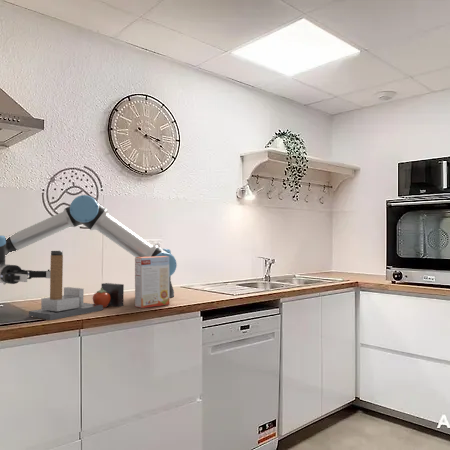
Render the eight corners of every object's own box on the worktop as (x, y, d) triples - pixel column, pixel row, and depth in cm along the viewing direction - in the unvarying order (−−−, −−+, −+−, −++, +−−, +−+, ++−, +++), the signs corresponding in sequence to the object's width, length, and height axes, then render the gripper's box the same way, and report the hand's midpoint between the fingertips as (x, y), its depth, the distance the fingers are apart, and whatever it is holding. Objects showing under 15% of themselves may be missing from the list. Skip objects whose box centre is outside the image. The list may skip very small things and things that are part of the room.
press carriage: (67, 304, 172) (68, 250, 172) (83, 306, 167) (84, 250, 168) (41, 309, 161) (42, 250, 162) (56, 311, 157) (57, 251, 157)
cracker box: (162, 303, 192) (162, 255, 192) (169, 305, 187) (170, 256, 188) (133, 306, 183) (134, 256, 183) (141, 308, 178) (141, 257, 179)
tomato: (111, 305, 185) (111, 286, 185) (109, 308, 178) (110, 288, 178) (93, 305, 184) (93, 286, 184) (90, 308, 177) (91, 289, 177)
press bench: (104, 303, 190) (105, 282, 191) (125, 305, 184) (125, 284, 184) (28, 316, 159) (29, 291, 159) (50, 320, 152) (50, 294, 153)
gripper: (36, 280, 187) (69, 283, 176) (-22, 286, 166) (11, 290, 155) (36, 263, 187) (69, 265, 176) (-22, 266, 166) (12, 269, 155)
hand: (42, 276), depth 165 cm, fingers open, 13 cm apart
